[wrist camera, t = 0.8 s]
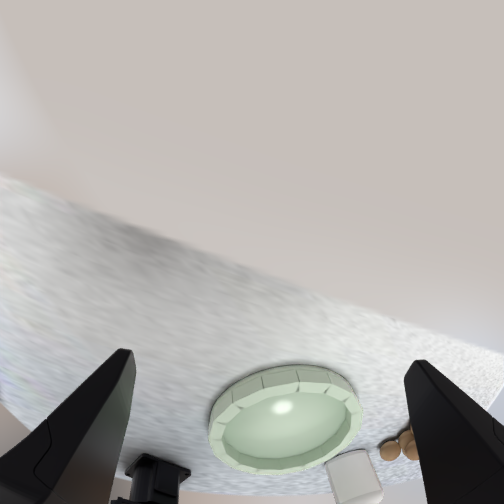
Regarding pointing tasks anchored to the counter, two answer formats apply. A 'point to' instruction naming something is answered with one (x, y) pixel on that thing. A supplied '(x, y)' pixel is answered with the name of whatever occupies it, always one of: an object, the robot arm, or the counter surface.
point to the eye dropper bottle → (354, 479)
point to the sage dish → (284, 420)
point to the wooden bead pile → (400, 447)
